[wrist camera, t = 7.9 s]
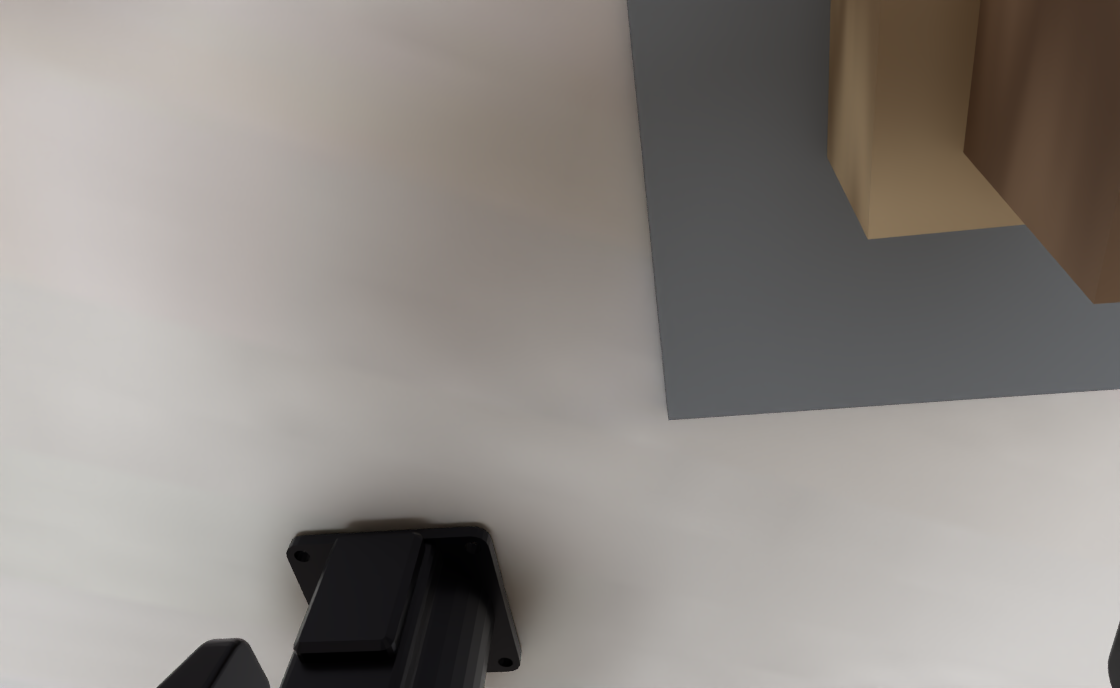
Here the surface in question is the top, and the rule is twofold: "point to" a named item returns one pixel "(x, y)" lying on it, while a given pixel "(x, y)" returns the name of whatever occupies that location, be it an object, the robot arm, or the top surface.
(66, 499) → the top surface
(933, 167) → the oak base block
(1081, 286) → the walnut cube
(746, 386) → the mat
